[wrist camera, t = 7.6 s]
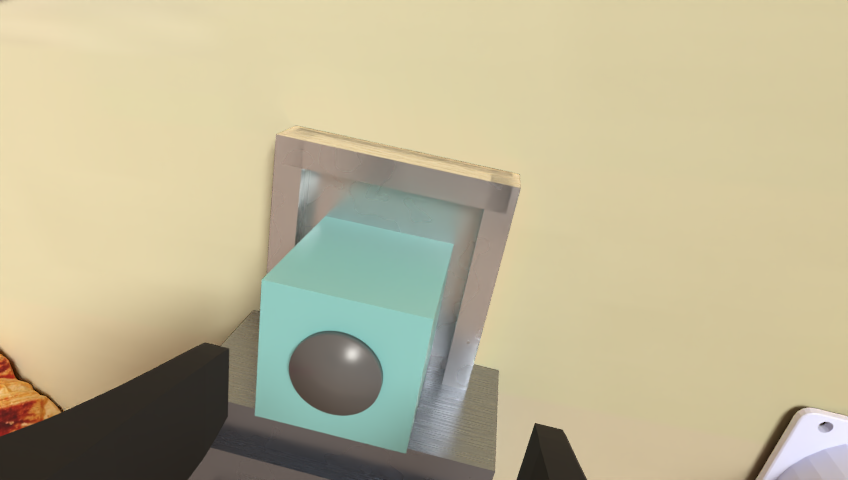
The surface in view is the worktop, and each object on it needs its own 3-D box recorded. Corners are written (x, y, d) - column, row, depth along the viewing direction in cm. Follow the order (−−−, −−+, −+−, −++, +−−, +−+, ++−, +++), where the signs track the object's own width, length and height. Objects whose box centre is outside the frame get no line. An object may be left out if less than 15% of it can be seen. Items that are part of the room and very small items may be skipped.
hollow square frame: (554, 181, 19) (572, 245, 13) (464, 488, 25) (450, 620, 19) (234, 111, 20) (124, 144, 14) (223, 424, 26) (143, 533, 20)
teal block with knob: (430, 353, 21) (404, 461, 16) (314, 326, 22) (250, 421, 16) (453, 244, 19) (432, 325, 14) (325, 216, 20) (257, 284, 14)
